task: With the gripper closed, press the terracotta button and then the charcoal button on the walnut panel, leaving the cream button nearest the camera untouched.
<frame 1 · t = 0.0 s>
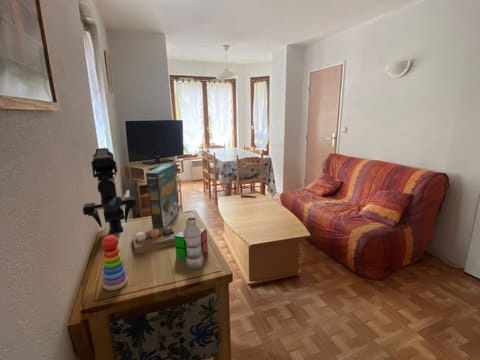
hand: (113, 224, 105), 15 cm above the table, fingers open, 9 cm apart
cream button: (141, 237, 116), point 4 cm above the table, slide at 0.0 cm
terracotta button: (154, 234, 119), point 4 cm above the table, slide at 0.0 cm
stacking toy: (116, 284, 91), on the table
charcoal button: (167, 231, 122), point 4 cm above the table, slide at 0.0 cm
puzzle cube: (192, 253, 109), on the table
panel: (155, 241, 120), on the table
cake mix box: (166, 220, 144), on the table
plastic bottle: (195, 267, 99), on the table
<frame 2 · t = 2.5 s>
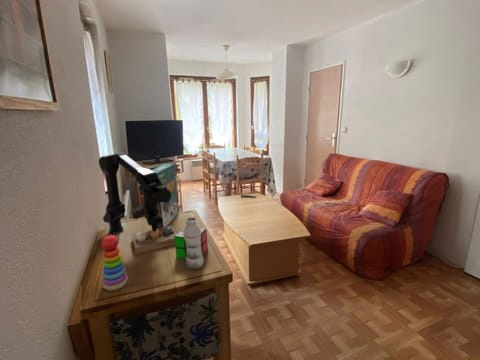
hand: (154, 231, 119), 5 cm above the table, fingers closed, pressing on terracotta button
terracotta button: (154, 234, 119), point 4 cm above the table, slide at 0.1 cm, touching gripper
everything else where it was.
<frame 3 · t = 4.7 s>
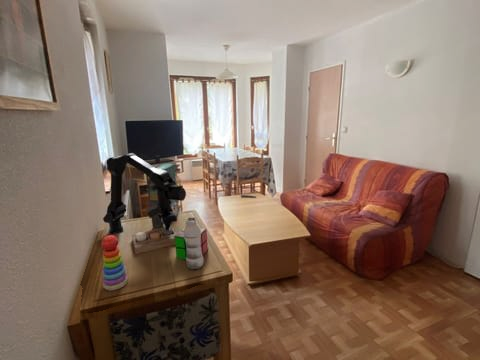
hand: (167, 229, 121), 5 cm above the table, fingers closed, pressing on charcoal button
terracotta button: (155, 237, 119), point 2 cm above the table, slide at 1.9 cm
charcoal button: (168, 232, 122), point 3 cm above the table, slide at 0.9 cm, touching gripper
everything else where it was.
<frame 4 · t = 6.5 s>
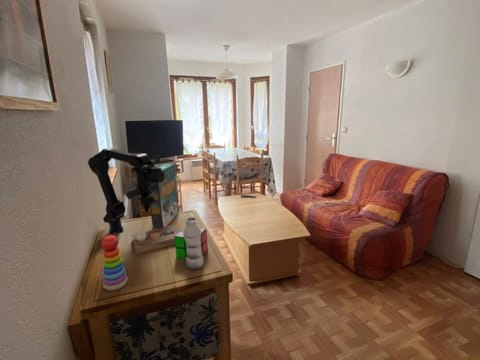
hand: (146, 211, 123), 12 cm above the table, fingers closed
charcoal button: (168, 234, 122), point 2 cm above the table, slide at 1.9 cm
everything else where it was.
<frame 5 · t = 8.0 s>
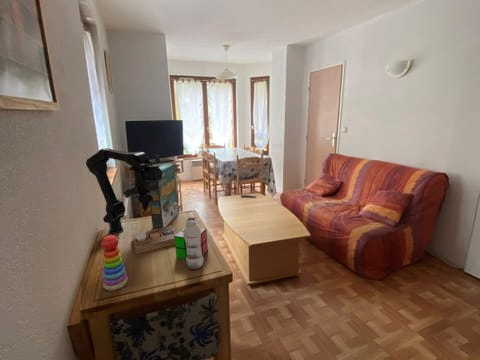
hand: (145, 210, 123), 13 cm above the table, fingers closed
nothing on the table moved.
at the end: terracotta button slide at 1.9 cm; charcoal button slide at 1.9 cm; cream button slide at 0.0 cm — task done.
